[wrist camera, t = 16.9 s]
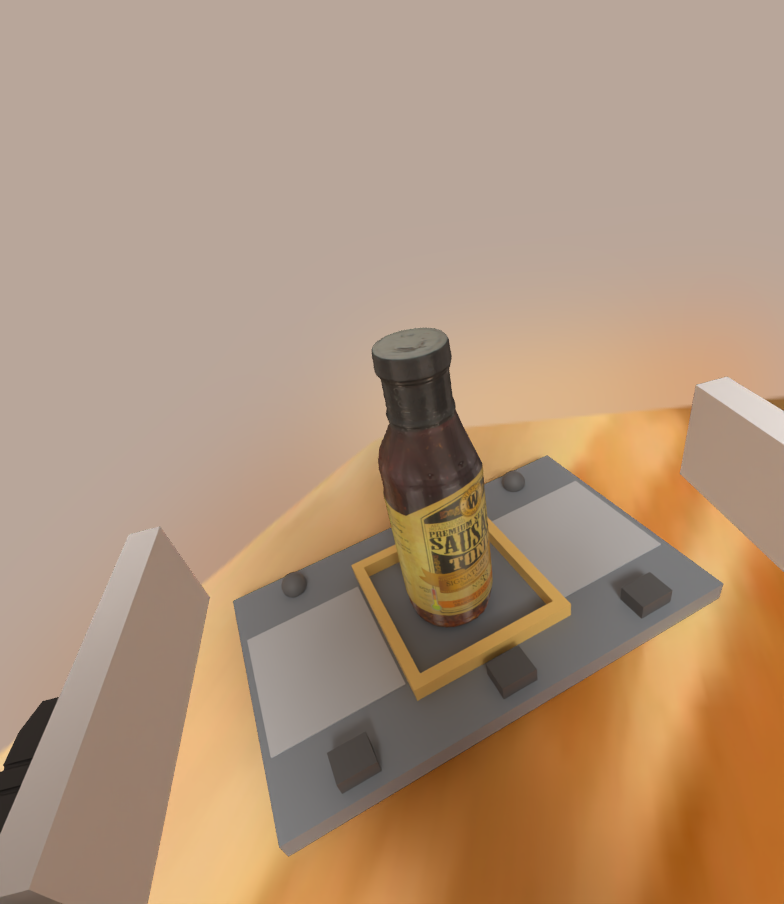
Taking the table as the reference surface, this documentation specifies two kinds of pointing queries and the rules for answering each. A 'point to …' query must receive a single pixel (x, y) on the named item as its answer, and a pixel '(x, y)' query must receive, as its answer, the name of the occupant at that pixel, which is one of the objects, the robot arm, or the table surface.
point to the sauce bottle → (432, 481)
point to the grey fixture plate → (446, 645)
